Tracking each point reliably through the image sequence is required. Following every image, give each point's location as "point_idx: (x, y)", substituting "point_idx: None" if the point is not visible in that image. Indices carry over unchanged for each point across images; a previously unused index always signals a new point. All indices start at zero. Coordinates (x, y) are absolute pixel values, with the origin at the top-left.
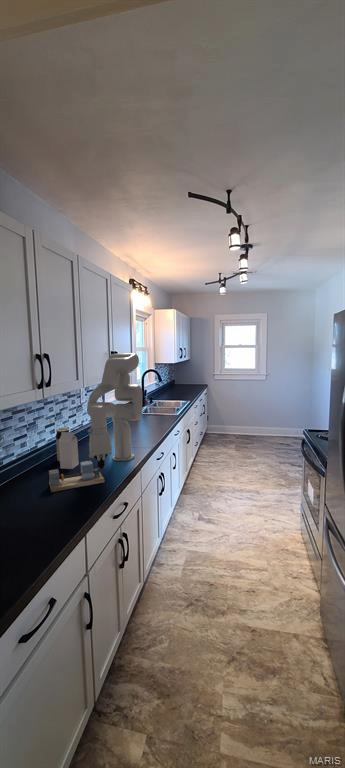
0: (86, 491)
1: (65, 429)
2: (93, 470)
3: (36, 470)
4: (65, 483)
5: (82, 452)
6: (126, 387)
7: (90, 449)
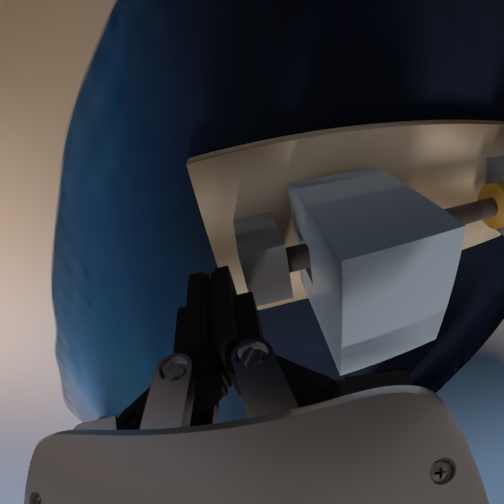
0: (339, 15)
1: None
2: (311, 214)
3: (461, 361)
4: (465, 172)
5: None
6: None
7: (482, 487)
